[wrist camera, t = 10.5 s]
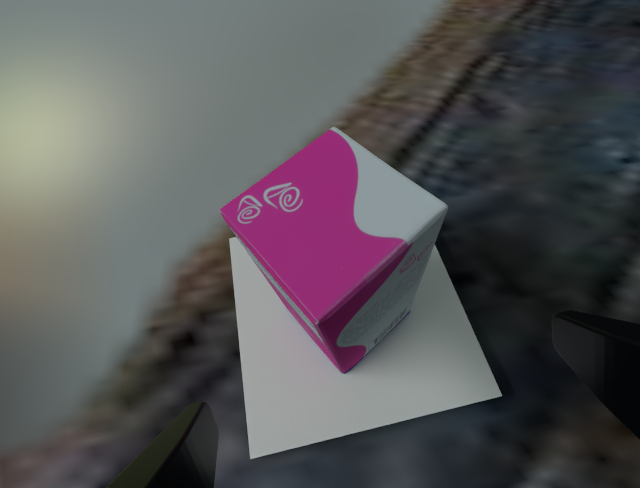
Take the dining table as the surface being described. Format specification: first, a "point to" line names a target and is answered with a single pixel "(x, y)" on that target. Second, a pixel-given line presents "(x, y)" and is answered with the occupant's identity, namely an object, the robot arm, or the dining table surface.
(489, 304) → the dining table surface
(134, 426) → the dining table surface
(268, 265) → the supplement box
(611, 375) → the robot arm
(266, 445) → the mat
